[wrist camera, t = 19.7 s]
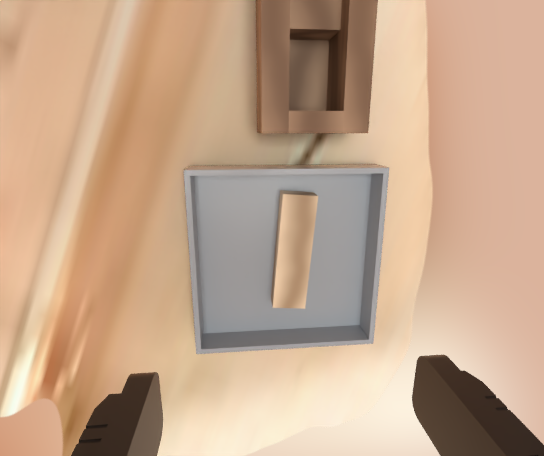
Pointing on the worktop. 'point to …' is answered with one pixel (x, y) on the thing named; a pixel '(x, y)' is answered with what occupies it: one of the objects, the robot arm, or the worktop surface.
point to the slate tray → (261, 250)
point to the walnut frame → (314, 65)
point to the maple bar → (293, 248)
